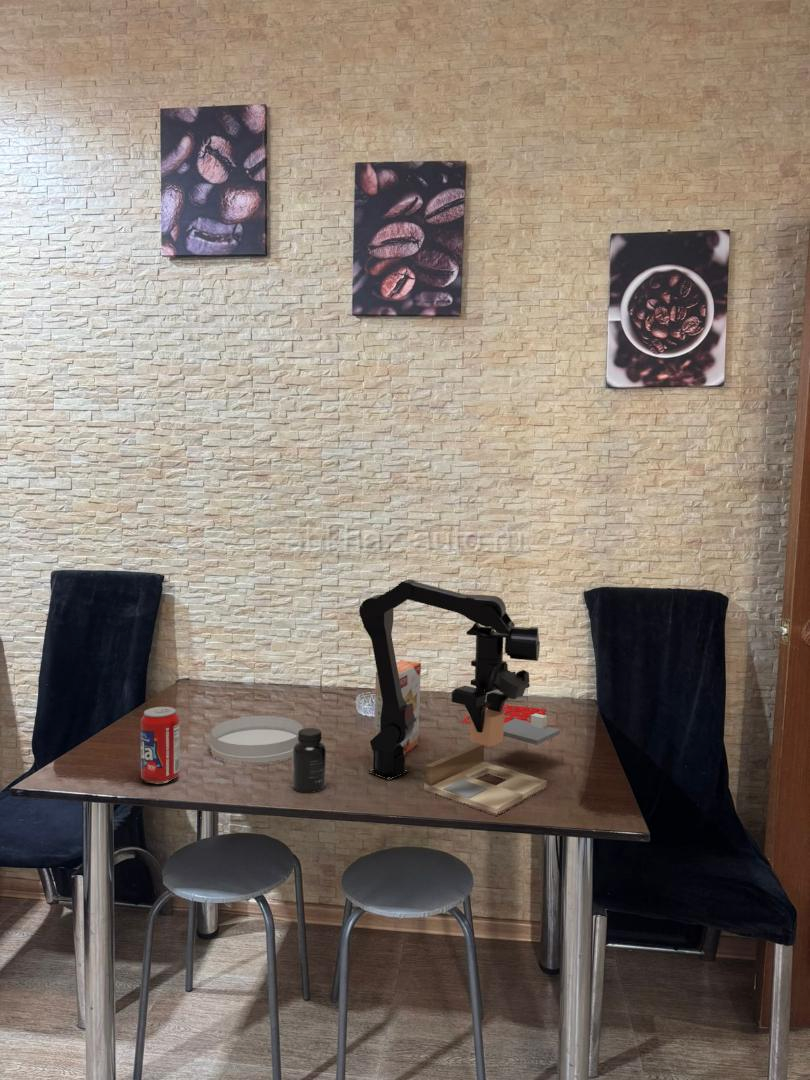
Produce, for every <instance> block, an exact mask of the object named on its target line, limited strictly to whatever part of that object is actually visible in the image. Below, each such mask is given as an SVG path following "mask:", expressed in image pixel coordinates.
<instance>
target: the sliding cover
mask: <svg viewBox="0 0 810 1080" xmlns="http://www.w3.org/2000/svg"><path fill="white" fill-rule="evenodd" d="M530 716H531V718H530V719H531V723H530V722H527V721H528V720H526V721H523V720H519V719H516V718H513V719H512V720H511V721H509V722H508V721H507V722H506V723H504V729H503V737H506V738H509V739H510V738H511V739H514V740H517V741H521V742H526V743H528V744H533V745H537V746H538V745H540V744H542V743H545V742H546V741H548V740H551V739H554V738H555V737H558V736H559V735H560V734H561V730H560V729H558V728H555V727H550V726H547V724H548V723H547V722H548V721H547V720H548V719H547V718H548V716H547V715H545V714H544V715H540V714H536V713H535V714H530Z"/></svg>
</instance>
